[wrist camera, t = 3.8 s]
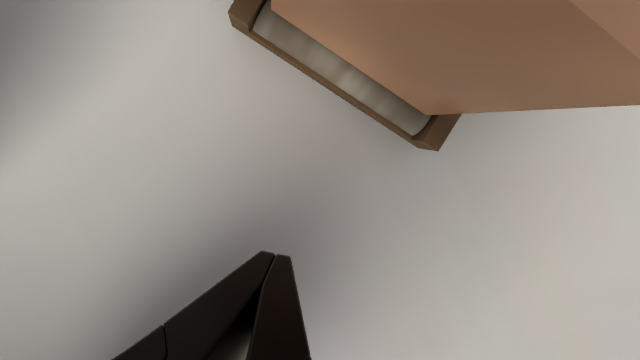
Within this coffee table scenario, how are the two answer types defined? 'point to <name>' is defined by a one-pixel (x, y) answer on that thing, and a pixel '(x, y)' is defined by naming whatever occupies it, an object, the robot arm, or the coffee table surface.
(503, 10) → the terracotta slab
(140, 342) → the robot arm
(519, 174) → the coffee table surface
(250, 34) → the roller track
